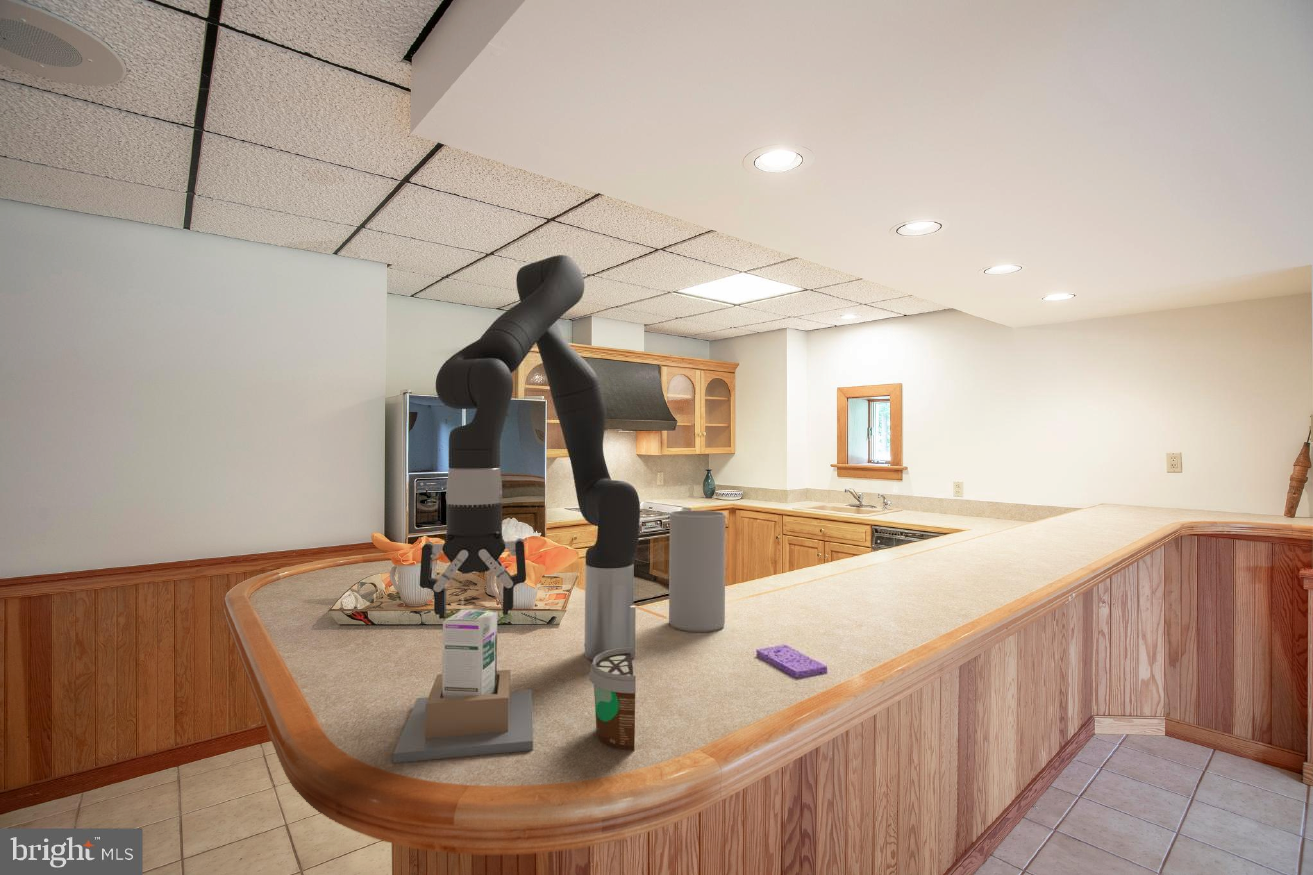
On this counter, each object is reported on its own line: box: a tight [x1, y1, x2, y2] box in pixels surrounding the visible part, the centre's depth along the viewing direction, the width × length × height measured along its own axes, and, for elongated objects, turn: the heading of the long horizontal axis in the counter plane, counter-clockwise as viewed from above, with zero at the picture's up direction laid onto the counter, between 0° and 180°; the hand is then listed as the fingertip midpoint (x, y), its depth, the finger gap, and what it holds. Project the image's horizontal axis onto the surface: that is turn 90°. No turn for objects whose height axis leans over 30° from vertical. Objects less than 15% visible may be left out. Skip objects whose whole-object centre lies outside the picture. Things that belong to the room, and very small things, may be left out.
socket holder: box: [392, 669, 534, 764], centre depth 85 cm, size 17×17×6 cm
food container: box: [588, 647, 637, 751], centre depth 83 cm, size 12×6×10 cm, turn 5°
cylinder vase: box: [668, 510, 727, 633], centre depth 136 cm, size 12×12×25 cm
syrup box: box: [441, 608, 498, 698], centre depth 85 cm, size 6×6×14 cm
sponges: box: [755, 644, 828, 679], centre depth 111 cm, size 7×13×2 cm, turn 25°
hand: (474, 615), depth 85 cm, fingers open, 8 cm apart
